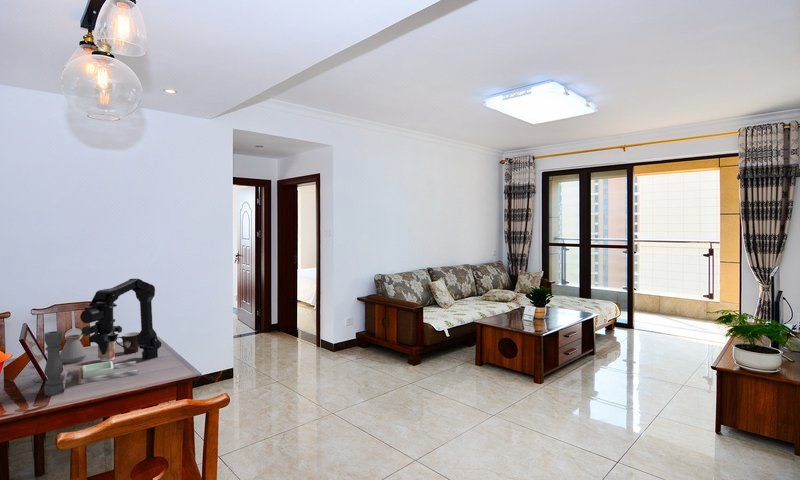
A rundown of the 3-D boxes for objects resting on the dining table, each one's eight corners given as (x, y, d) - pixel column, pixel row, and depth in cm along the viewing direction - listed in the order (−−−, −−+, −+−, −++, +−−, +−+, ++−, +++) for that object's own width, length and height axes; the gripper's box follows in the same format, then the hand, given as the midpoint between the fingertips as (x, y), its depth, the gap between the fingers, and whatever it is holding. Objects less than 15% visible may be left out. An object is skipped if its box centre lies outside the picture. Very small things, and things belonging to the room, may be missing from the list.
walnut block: (103, 355, 191) (102, 341, 191) (114, 354, 192) (114, 341, 192) (98, 358, 187) (98, 344, 186) (109, 357, 188) (109, 344, 187)
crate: (112, 369, 199) (112, 361, 199) (113, 377, 190) (113, 368, 190) (83, 374, 193) (83, 365, 193) (83, 382, 183) (82, 373, 183)
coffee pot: (78, 364, 210) (78, 334, 210) (53, 365, 208) (52, 335, 208) (102, 351, 231) (101, 324, 231) (79, 352, 229) (78, 325, 229)
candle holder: (51, 390, 177) (50, 330, 177) (67, 389, 178) (66, 330, 177) (40, 395, 171) (39, 334, 170) (56, 395, 172) (55, 334, 171)
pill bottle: (100, 362, 213) (99, 341, 213) (100, 359, 218) (99, 338, 218) (114, 360, 216) (114, 339, 216) (114, 357, 221) (114, 336, 221)
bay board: (135, 367, 207) (135, 359, 206) (138, 376, 194) (138, 368, 194) (79, 376, 194) (79, 367, 194) (78, 387, 181) (78, 377, 181)
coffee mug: (144, 351, 233) (144, 333, 233) (129, 355, 225) (129, 336, 225) (128, 348, 237) (128, 331, 237) (113, 353, 229) (113, 334, 229)
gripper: (95, 314, 196) (96, 347, 197) (73, 323, 178) (74, 360, 178) (122, 313, 198) (122, 346, 199) (103, 322, 180) (104, 358, 181)
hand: (106, 352), depth 189 cm, fingers closed on walnut block, 4 cm apart
